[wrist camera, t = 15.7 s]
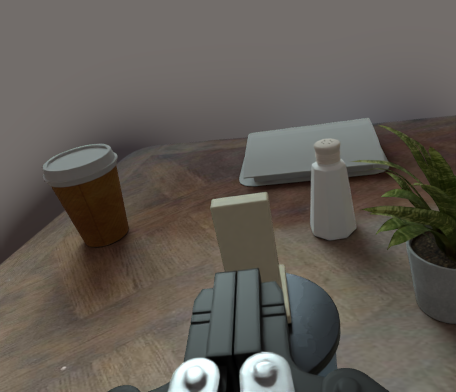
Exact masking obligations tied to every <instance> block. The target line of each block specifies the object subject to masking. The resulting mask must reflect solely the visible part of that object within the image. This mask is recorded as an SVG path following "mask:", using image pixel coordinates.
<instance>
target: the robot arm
mask: <svg viewBox="0 0 456 392" xmlns="http://www.w3.org/2000/svg"><path fill="white" fill-rule="evenodd" d="M192 313H193V315H192V318H191V325H190V329H189V335H188V340H187V346H186V352H185V358H184V362H183V364H181V365H180V366H179V367H178V368H177V369H176V370H175V372H174V374H173V375H172V378H171V381H170V382H169V383H167V384H165V385H163V386H161V387H159V388H156V389H154V390H151V391H149V392H389V391H388V390H386V389H385V388H384V387H382V386H381V385H380V384H378V383H377V382H376V381H374V380H373V379H372V378H370V377H369V376H368V375H366V374H365V373H363V372H361V371H359V370H356V369H351V368H341V369H337V370H334V371H332V372H330V373H329V374H327V376H326V377H322V376H318V375H313V374H310V373H307V372H305V371H303V370H301V369H300V368H299V367H298V366H296V364H295V363H294V362H293V360H292V356H291V347H290V338H289V329H288V321H287V315H286V308H285V302H284V296H283V291H282V289H281V288H280V287H279V285H278V284H277V283H276V281H272V282H263V283H262V281H261V276H260V271H259V268H253V269H244V270H238V272H237V271H228V272H219V273H216V274H215V280H214V288H211V289H202V290H201V292H200V293H199V295H198V296H197V298H196V299H195V301H194V306H193V312H192ZM108 392H140V391H139V390H138V389H137V388H136V387H134V386H130V385H122V386H118V387H115V388H113V389H111V390H110V391H108Z"/></svg>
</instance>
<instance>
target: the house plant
mask: <svg viewBox="0 0 456 392" xmlns="http://www.w3.org/2000/svg"><path fill="white" fill-rule="evenodd" d="M379 126H380V125H379ZM381 127H384V128H386V129H388V130H390V131H392V132H394V133H395V134H396V135H398V136H399V137H400V138H401V139H402V140H403V141H404V142H405V143H406V145H407V146H408V147H409V149H410V150H411V152H412V154H413V156H414V158H415V159H416V161H417V163H418V165H419V167H420V168H421V170H422V171H423V173H424V174H425V176H426V178H427V179H428V181H429V183H430V185H431V186H430V185H424V184H423V183H421V182H420V181H419V180H418V179H417V178H416V177H415V176H414V175H412V174H411V173H410V172H408V171H407V170H405V169H404V168H402V167H401V166H398V165H396V164H394V163H391V162H388V161H381V160H357V161H350V162H365V163H377V164H383V165H387V166H392V167H395V168H397V169H400V170H402V171H404V172H406V173H407V174H409V175H410V176H412V177H413V178H414V179H416V180H417V181H418V182H419V183H421V184H419V183H414V185H421V188H423V189H424V190H425V191H426V192H427V193H428V194H429V195H430V196H431V197H432V198H433V200H434V201H435V203H436V205H437V206H438V208H439V211H440V212H439V211H434V210H431V209H430V207H429V206H428V205H427V203H426V202H425V201H424V199H423V198H422V197H421V196H420V194H419V193H418V192H417V191H416V190H415V188H414V187H413V186H412V185H411V184H410V183H409V182H408V181H407V180H406V179H405V178H403V177H402V176H401V175H399V174H397V173H396V174H397V175H399V176H401V177H402V178H403V179H404V180H405V181H406V182H407V183H408V184H409V186H411V187H412V188H413V189H414V191H415V192H416V193H417V194H418V195H419V197H418V196H417V195H415V194H414V193H413V192H412V190H411V189H410V187H409V186H408V185H407V183H406V182H405V181H404V180H402V179H401V178H399V177H398V176H396V175H394V174H392V173H388V172H386V171H385V172H386V173H388V174H389V175H390V176H391V177H393V178H394V179H395V180H396V182H397V183H398V184H399V185H400V187H401V188H402V189H394V190H391V191H388V192H386V193H385V194H384V195H383V196H382V197H400V198H406V199H409V201H410V202H411V203H412V204H413V205H414V206H415V207H416V208H412V207H402V206H380V207H372V208H365V209H362V210H366V211H369V212H372V213H370V214H376V215H387V216H391V217H394V218H391V219H389V220H388V221H386V222H385V223H384V224H383V225H382V226H381V228H380V229H379V230H378V232H377V233H379V232H381V231H388V230H394V229H398V230H397V231H396V232H395V233H394V235H393V237H392V239H391V241H390V244H389V246H388V249H389V248H390V247H391V246H394V245H397V244H401V243H404V242H406V247H407V252H408V258H409V263H410V268H411V274H412V279H413V285H414V290H415V296H416V301H417V303H418V306H419V307H420V308H421V310H422V311H423V312H424V313H426V314H427V315H429V316H430V317H432V318H434V319H436V320H438V321H442V322H445V323H451V324H456V176H454V174H453V172H452V170H451V168H450V166H449V165H448V163H447V162H446V161H445V159H444V158H443V157H442V156H441V155H440V153H439V152H437V151H436V150H435V149H433V148H432V147H430V149H429V153H430V156H431V159H430V157H429V155H428V153H427V151H426V150H425V148H424V147H423V146H422V145H421V144H420V143H419V142H417V141H415V140H413V139H411V138H409V137H407V136H406V135H404V134H403V133H401V132H399V131H397V130H394V129H392V128H389V127H385V126H381ZM413 142H414V143H415V144H416V145H417V146H418V147H419V149H420V150H421V152H422V153H423V155H424V157H425V159H426V162H427V164H428V166H427V164H426V162H425V160H424V158H423V156H422V154H421V153H420V151H419V149H418V148H417V146H416V145H415V144H414V143H413ZM373 169H380V170H388V169H383V168H373ZM368 170H372V169H368ZM388 171H391V170H388ZM391 172H393V171H391ZM394 173H395V172H394ZM377 233H376V234H377ZM388 249H387V250H388Z"/></svg>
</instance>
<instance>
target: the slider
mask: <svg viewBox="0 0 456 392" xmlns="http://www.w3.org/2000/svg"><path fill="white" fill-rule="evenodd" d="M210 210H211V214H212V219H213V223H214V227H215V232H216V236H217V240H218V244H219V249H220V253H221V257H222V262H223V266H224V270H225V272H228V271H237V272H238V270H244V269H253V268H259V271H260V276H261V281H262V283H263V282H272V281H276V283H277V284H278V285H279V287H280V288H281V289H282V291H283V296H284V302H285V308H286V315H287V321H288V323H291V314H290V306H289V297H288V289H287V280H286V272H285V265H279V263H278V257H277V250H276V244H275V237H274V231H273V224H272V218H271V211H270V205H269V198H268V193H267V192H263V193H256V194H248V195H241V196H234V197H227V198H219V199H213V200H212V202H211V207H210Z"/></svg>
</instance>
